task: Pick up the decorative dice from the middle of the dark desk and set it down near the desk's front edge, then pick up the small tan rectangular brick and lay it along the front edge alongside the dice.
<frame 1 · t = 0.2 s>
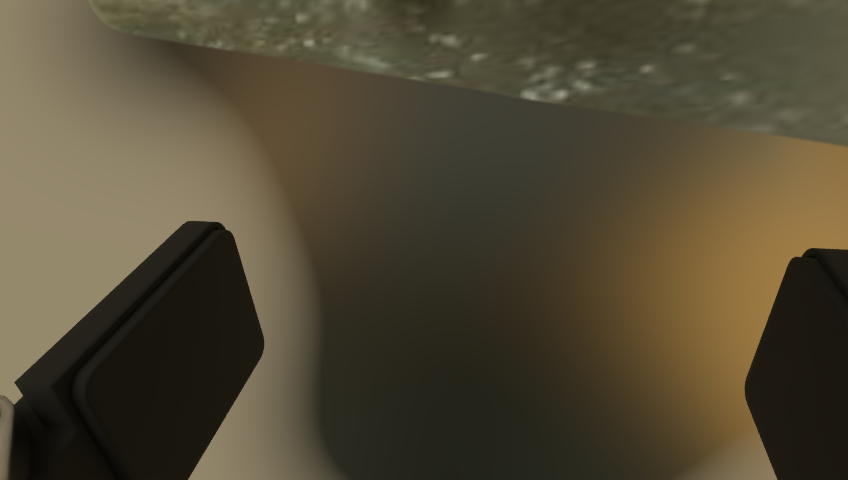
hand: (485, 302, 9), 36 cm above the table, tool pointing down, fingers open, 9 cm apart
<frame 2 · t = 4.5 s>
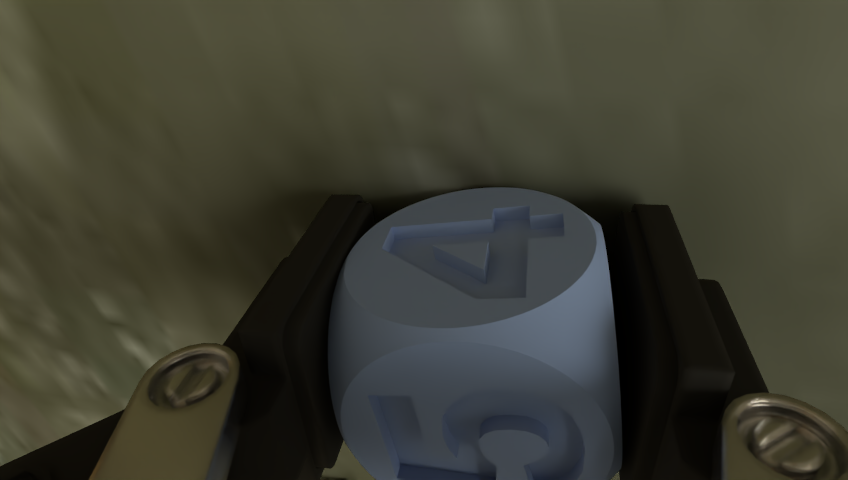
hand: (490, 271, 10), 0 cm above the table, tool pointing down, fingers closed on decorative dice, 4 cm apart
decorative dice: (493, 268, 11), on the table, touching gripper
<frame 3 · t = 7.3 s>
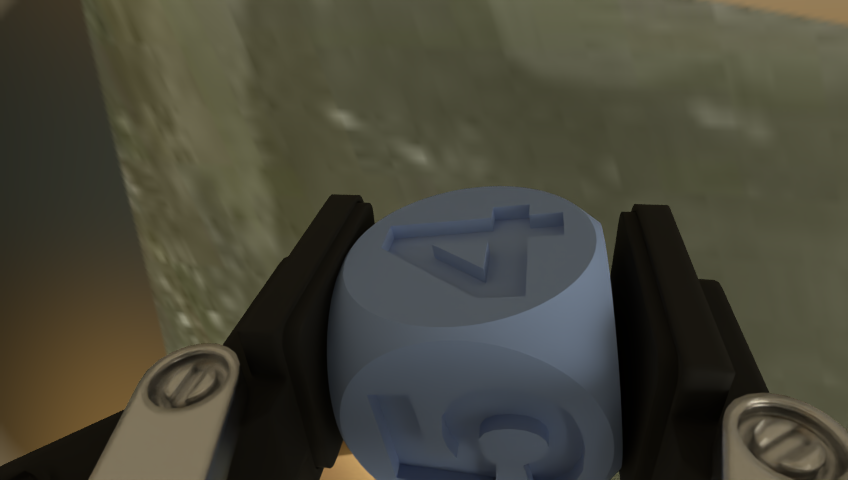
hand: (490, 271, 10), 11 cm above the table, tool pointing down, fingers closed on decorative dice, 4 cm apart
tan rectangular brick: (350, 433, 33), on the table
decorative dice: (493, 268, 11), point 11 cm above the table, touching gripper
when the fingers open (0 cm above the table, at t = 10.1 s): decorative dice stays where it is, on the table.
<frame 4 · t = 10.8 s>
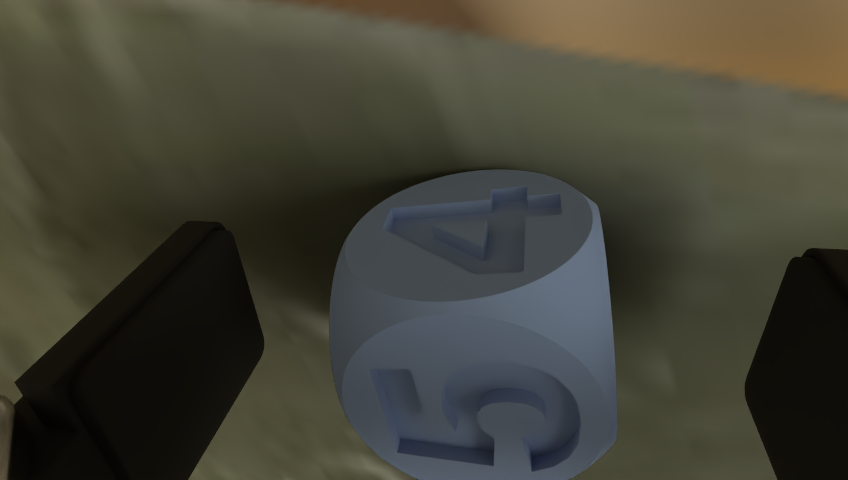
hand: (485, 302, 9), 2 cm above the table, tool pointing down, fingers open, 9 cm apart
decorative dice: (492, 251, 11), on the table
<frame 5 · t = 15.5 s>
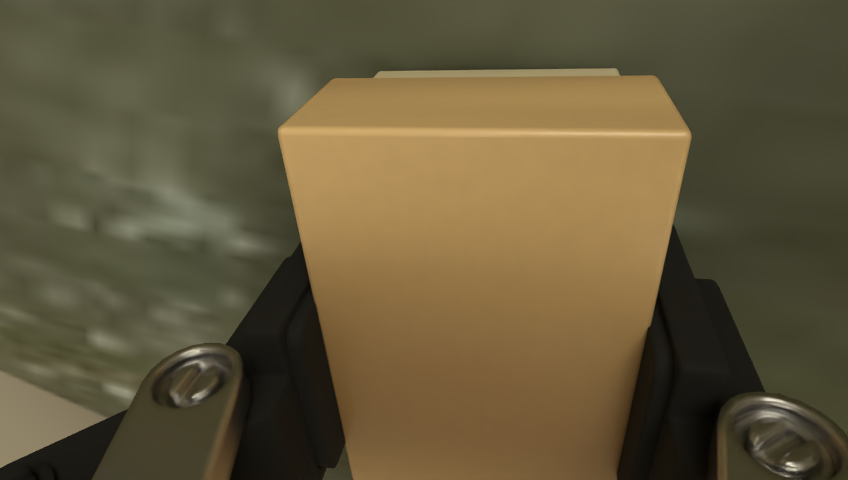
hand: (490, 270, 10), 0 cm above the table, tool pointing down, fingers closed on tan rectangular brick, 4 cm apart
tan rectangular brick: (491, 259, 11), on the table, touching gripper
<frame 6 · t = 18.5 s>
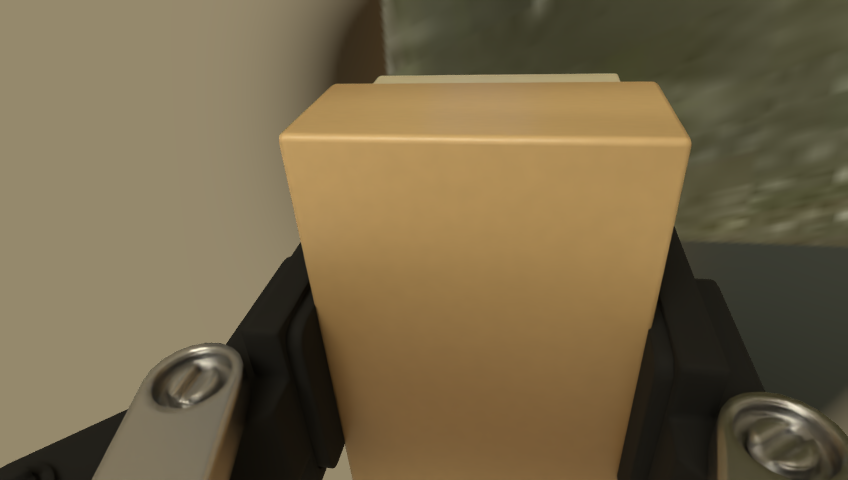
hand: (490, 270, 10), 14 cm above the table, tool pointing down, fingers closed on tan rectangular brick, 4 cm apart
tan rectangular brick: (492, 263, 11), point 14 cm above the table, touching gripper
when the fingers open (0 cm above the table, at t = 22.0 s): tan rectangular brick stays where it is, on the table.
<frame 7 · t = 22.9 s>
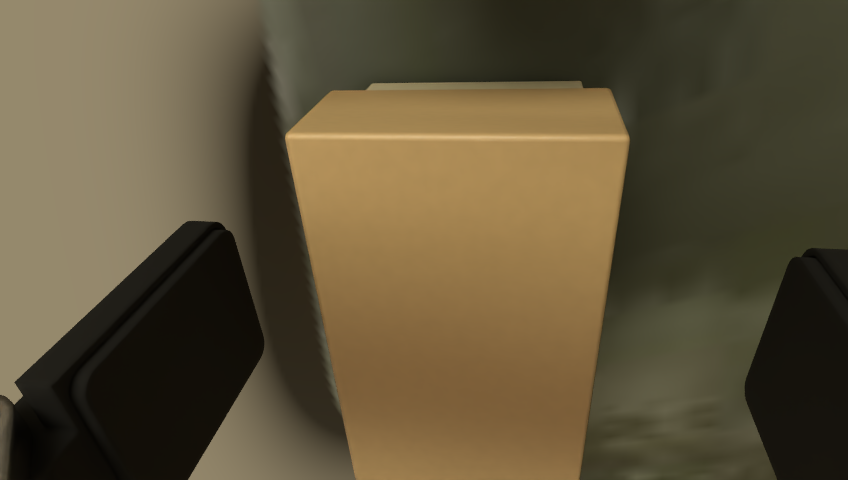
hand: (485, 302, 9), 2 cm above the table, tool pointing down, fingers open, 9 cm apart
tan rectangular brick: (475, 253, 12), on the table
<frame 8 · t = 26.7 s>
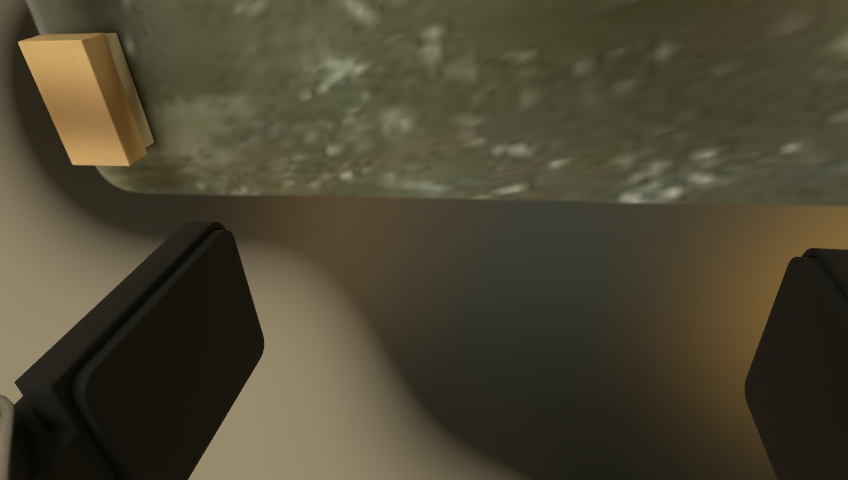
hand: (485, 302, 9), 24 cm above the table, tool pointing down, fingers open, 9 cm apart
tan rectangular brick: (111, 90, 37), on the table
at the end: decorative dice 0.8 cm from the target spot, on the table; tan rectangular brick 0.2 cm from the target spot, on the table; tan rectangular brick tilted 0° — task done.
